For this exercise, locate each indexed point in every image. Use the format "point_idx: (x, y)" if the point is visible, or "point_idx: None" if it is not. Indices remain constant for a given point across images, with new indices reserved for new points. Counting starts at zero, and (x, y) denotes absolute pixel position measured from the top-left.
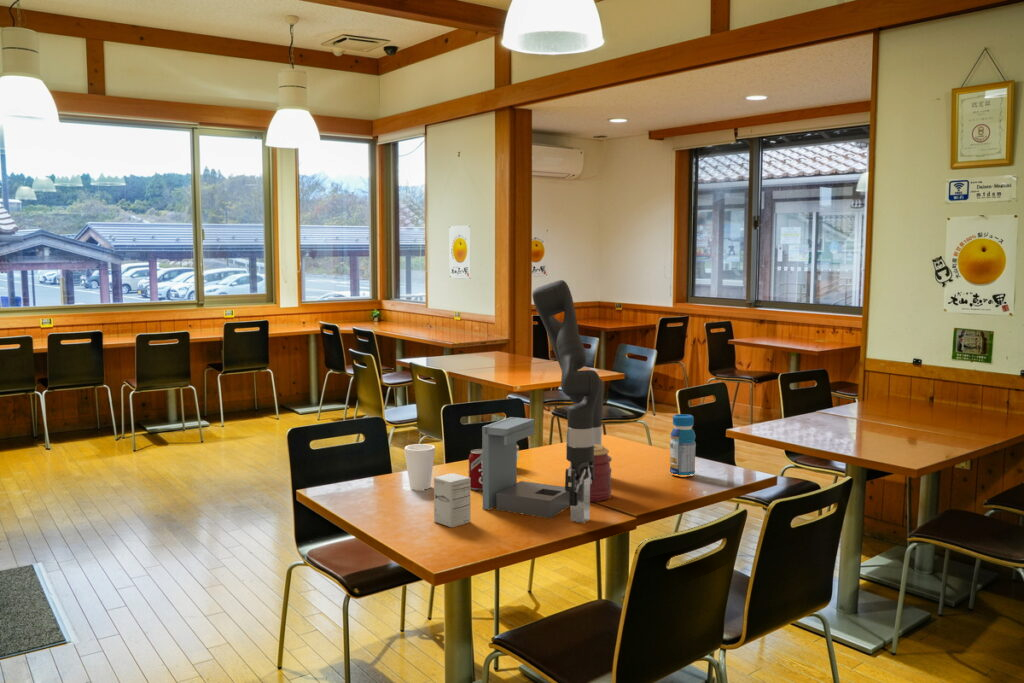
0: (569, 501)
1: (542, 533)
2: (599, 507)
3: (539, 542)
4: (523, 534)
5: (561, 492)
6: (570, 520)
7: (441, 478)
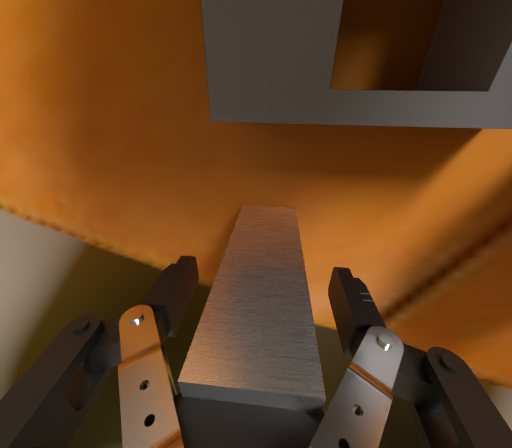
0: (177, 264)
1: (73, 169)
2: (449, 239)
3: (11, 196)
4: (8, 109)
5: (448, 104)
6: (242, 205)
7: None
